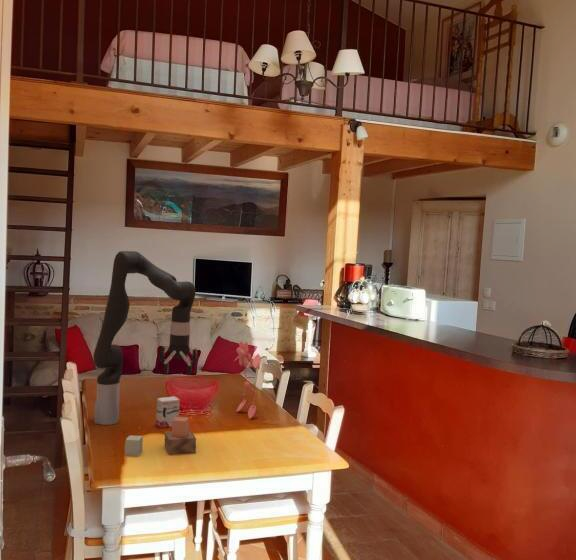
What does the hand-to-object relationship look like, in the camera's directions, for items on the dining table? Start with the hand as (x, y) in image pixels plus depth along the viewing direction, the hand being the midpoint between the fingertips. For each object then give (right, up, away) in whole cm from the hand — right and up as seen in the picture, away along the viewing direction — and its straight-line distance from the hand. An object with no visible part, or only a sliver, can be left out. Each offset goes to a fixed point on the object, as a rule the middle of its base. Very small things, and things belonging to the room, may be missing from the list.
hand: (177, 374), depth 240 cm
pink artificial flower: (+21, -26, +42) cm, 54 cm away
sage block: (-14, -28, -13) cm, 33 cm away
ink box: (-9, -26, +23) cm, 36 cm away
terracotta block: (+2, -22, -6) cm, 23 cm away
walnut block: (+2, -28, -6) cm, 29 cm away
